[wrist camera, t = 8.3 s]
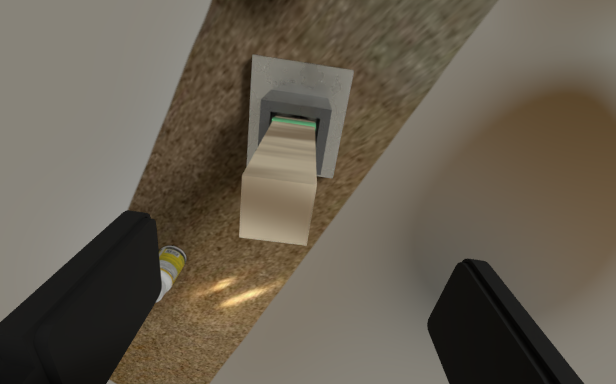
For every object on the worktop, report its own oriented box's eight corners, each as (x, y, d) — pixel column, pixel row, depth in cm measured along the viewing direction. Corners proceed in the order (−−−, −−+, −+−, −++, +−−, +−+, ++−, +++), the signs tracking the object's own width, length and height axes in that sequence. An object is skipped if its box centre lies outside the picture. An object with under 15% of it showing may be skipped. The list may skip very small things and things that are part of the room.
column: (275, 113, 30) (240, 173, 15) (315, 119, 30) (319, 183, 15) (271, 152, 31) (237, 238, 17) (309, 158, 32) (308, 247, 17)
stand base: (255, 54, 35) (236, 55, 26) (351, 69, 36) (365, 75, 27) (249, 161, 41) (232, 192, 32) (331, 172, 42) (337, 205, 33)
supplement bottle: (166, 269, 50) (140, 307, 43) (153, 247, 48) (124, 284, 41) (191, 264, 50) (170, 302, 42) (179, 242, 48) (155, 278, 40)
